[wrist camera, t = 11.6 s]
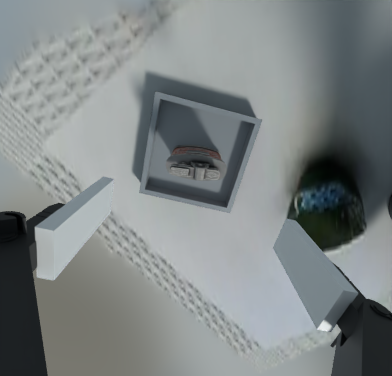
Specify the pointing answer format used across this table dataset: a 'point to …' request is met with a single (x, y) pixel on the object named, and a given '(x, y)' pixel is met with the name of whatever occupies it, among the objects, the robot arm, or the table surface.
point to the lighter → (196, 163)
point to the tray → (203, 136)
